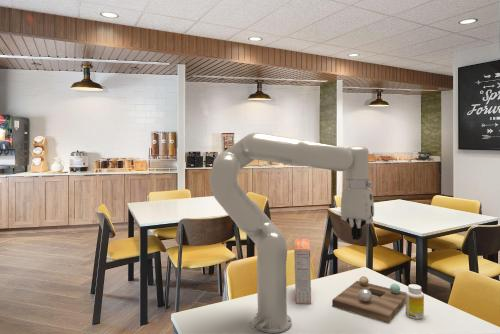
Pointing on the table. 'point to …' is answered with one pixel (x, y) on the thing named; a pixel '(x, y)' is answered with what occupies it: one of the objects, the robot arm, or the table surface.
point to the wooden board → (371, 302)
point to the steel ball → (365, 295)
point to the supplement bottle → (414, 302)
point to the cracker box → (302, 271)
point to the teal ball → (395, 288)
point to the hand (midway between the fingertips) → (356, 238)
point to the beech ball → (363, 280)
